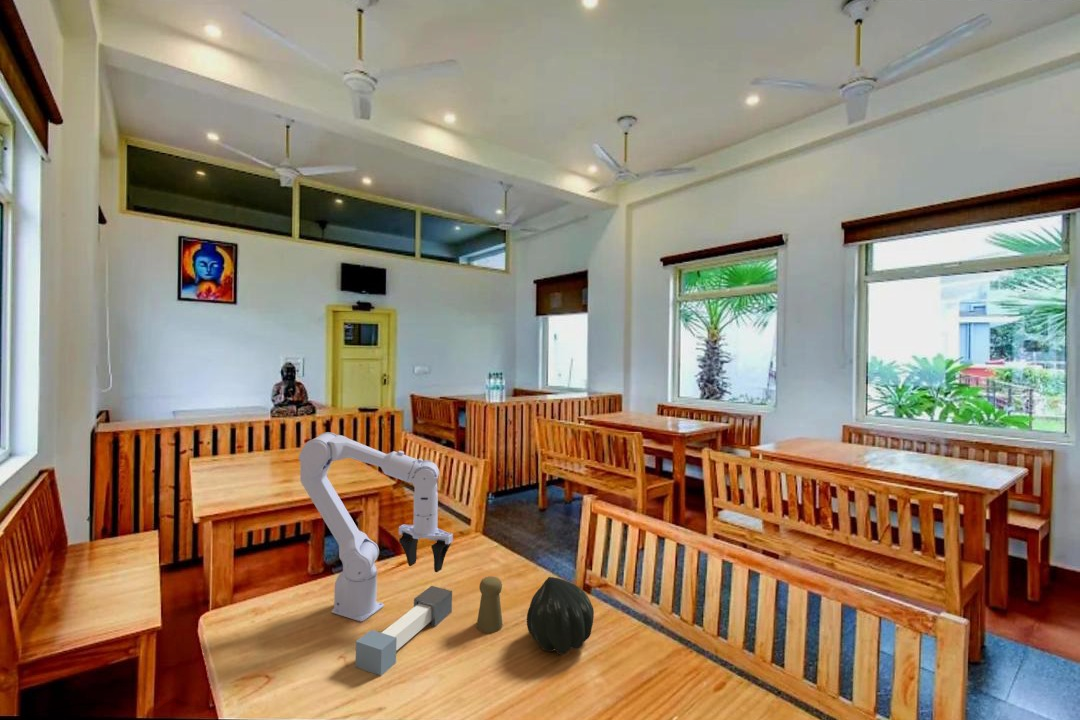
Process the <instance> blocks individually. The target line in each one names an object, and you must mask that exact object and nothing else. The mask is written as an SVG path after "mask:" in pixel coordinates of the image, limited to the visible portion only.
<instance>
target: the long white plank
mask: <svg viewBox="0 0 1080 720" xmlns="http://www.w3.org/2000/svg"><path fill="white" fill-rule="evenodd" d="M432 608H433V606H432V605H428V604H425V603H421V602H420V603H419V604H418V605H416V606H415V607H414V606H413V607H412V608H411V609H410V610H408V612H406V613H405V614H403V615H401V617H400V618H398V619H396V620H395V622H393V623H392V624H391V625H389V626H388V627H387V628H386V629H384V630H383V631H382V632H381V633H384V634H387V635H390V636H393V637H396V638H397V639H396V652H398V650H399V649H401V648H402V647H403V646H404V645H405V644H406V643H408V642H409V641H410V640H411V639H412V638H413V637H414V636H416V635H417V634H418V633H419V632H420V631H421V630H422V629H424V628H425V627H426V626H428V625H427V624H428V623H429V622H431V621H432Z"/></svg>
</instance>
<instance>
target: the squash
mask: <svg viewBox="0 0 1080 720" xmlns="http://www.w3.org/2000/svg"><path fill="white" fill-rule="evenodd" d="M594 611H595V610H594V607H593V603H592V602H591V600H590V598H589V596H588V595H587V593H586V592H585V591H584V589H582V588H581V587H580V586H578V585H577V584H575V583H572V582H570V581H567V580H565V579H562V578H559V577H553V576H552V577H551V576H548V577H547V579H545V580H544V582H543V583H542V585H541V586H540V588H538V589H537V591H535V593H534V595H533V596H532V598H531V600H530V604H529V607H528V610H527V613H526V628H527V630H528V633H529V634H530V636H531V637H532V639H534V640H535V641H536V642H537V643H538V645H539V646H540V647H541V648H542V650H544V651H546V652H553V651H555V652H556V653H557V654H559V655H566V654H567V653H568V652H569V651H570V649H574V650H578V649H580V648H582V646H583V644H584V642H586V641H587V640H589V638H590V636H591V635H592V629H593V625H594V618H595V617H594V616H595V614H594V613H595V612H594Z"/></svg>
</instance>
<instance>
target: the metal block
mask: <svg viewBox="0 0 1080 720" xmlns="http://www.w3.org/2000/svg"><path fill="white" fill-rule="evenodd" d="M452 601H453V591H452V590H449V589H446V588H443V587H437V586H436V585H435V586H434V585H431V586H429V587H428V588H426V589H425V590H424V591H422V592H421V593H420V594H418V595H417V596H416V597H414V598H413V608H414V607H415V606H416V605H418V604H419V603H420V602H421V603H425V604H428V605H432V606H433V608H432V621H431V622H429V623H428V624H427V625H426V626H431V627H437V626H438V625H439V624H440V623H441V622H443V620H444V619H446V618H447V617H448V616H449V615H450V614H451V613H452V612H453V611H452V610H453V609H452V608H453V602H452Z"/></svg>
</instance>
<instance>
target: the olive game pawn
mask: <svg viewBox="0 0 1080 720" xmlns="http://www.w3.org/2000/svg"><path fill="white" fill-rule="evenodd" d="M502 590H503V584H502V581H501V579H500V578H499V577H496V576H492V575H490V576H487V577H483V578H482V579H481V581H480V583H479V592H480V594H481V595H480V596H481V597H480V603H479V609H478V615H477V621H476V628H477V630H478V631H480V632H481V633H485V634H493V633H497V632H499V631H501V629H503V627H504V626H503V615H502V606H501V596H500V594H501V592H502Z"/></svg>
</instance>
